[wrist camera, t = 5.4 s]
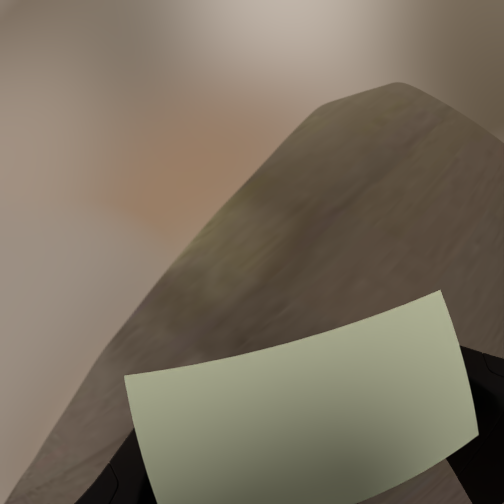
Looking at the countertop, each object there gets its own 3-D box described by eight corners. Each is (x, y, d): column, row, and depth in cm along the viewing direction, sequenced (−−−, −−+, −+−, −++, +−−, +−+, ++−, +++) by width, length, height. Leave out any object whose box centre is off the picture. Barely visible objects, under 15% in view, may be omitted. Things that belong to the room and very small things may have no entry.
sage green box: (329, 352, 15) (439, 290, 5) (346, 410, 14) (478, 434, 4) (213, 382, 15) (124, 375, 5) (229, 441, 13) (170, 536, 3)
